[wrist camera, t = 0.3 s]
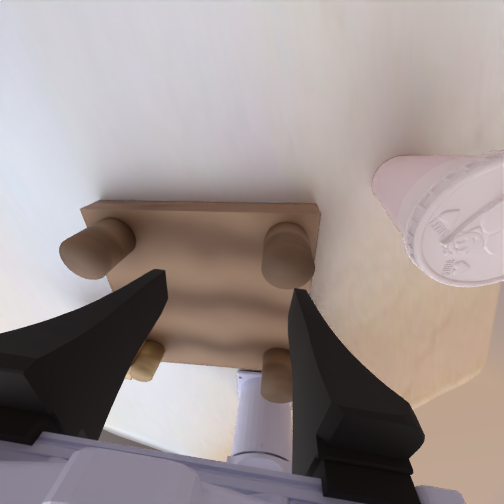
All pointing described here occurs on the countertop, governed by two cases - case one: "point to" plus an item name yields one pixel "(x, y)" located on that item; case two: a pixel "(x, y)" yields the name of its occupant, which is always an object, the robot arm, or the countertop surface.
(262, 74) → the countertop surface
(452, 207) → the smoothie
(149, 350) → the oak leg
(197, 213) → the stool seat
